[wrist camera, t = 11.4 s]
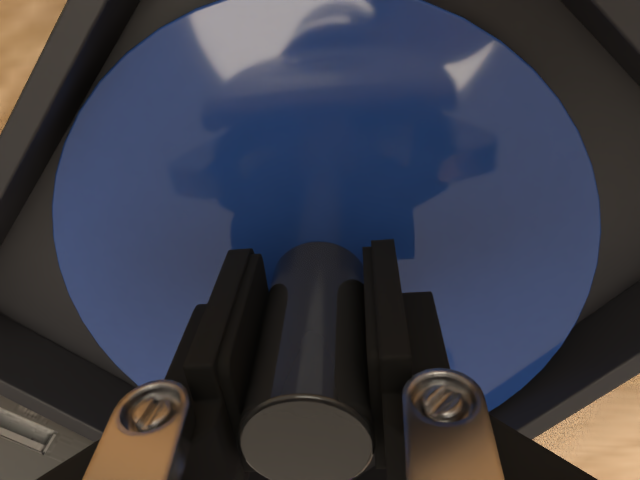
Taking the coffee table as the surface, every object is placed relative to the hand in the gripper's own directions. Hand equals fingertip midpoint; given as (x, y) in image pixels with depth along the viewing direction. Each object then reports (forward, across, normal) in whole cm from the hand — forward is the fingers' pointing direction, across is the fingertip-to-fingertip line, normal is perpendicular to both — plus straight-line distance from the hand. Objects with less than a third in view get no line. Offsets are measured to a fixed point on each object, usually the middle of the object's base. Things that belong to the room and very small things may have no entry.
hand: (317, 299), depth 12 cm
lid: (+1, 0, 0) cm, 1 cm away
